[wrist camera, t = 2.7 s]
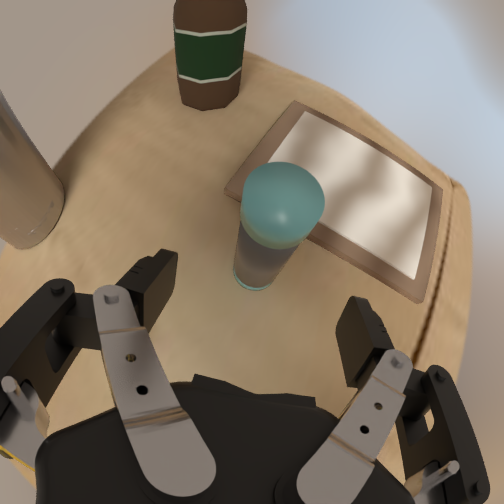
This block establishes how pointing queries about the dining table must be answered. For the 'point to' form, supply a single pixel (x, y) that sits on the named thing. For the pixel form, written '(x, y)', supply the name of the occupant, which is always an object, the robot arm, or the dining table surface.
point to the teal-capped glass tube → (274, 220)
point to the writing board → (358, 197)
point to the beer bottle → (209, 50)
